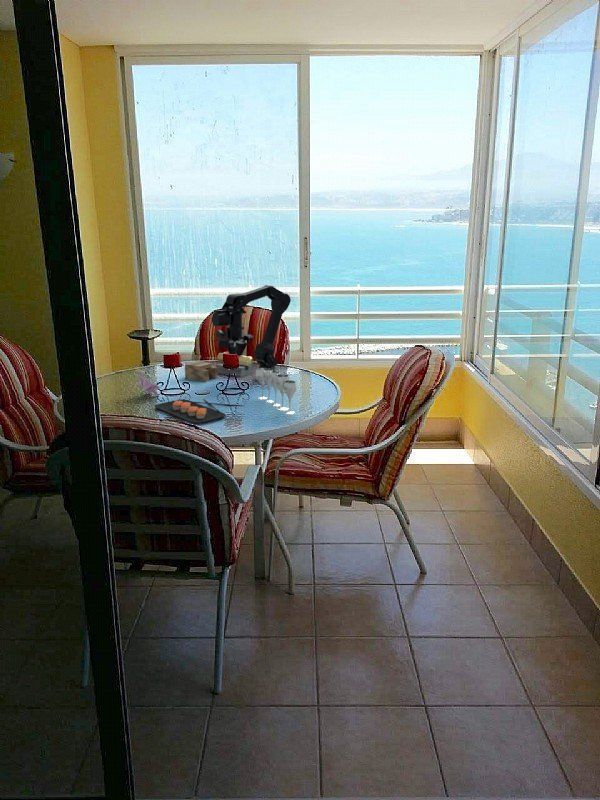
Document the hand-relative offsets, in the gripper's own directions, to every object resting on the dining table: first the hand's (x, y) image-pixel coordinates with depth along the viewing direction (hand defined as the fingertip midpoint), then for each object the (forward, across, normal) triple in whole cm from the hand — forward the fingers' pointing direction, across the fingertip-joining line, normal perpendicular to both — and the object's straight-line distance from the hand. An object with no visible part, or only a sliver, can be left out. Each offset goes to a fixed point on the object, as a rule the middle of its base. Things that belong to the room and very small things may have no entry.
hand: (235, 360), depth 274 cm
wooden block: (+10, 0, -19) cm, 22 cm away
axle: (0, 0, 0) cm, 1 cm away
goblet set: (+11, +19, +31) cm, 38 cm away
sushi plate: (+11, +38, +12) cm, 41 cm away
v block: (+10, -16, -12) cm, 23 cm away
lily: (+11, +36, -19) cm, 42 cm away
